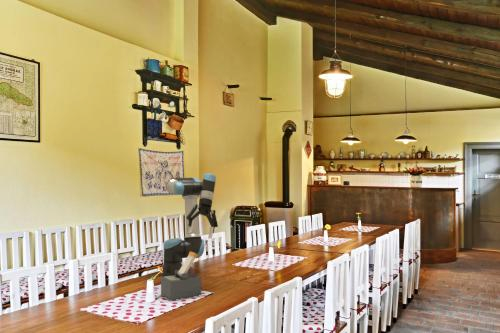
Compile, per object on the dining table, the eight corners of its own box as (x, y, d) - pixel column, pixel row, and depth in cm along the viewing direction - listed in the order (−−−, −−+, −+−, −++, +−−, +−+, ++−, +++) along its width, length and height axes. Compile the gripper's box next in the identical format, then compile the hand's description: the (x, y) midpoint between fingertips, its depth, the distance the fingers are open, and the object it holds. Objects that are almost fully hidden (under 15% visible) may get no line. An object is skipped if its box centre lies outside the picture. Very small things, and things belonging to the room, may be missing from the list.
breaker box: (160, 295, 246) (161, 271, 246) (190, 290, 256) (190, 267, 256) (170, 300, 235) (170, 276, 235) (201, 295, 245) (201, 272, 245)
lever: (176, 274, 248) (189, 251, 253) (178, 275, 249) (192, 252, 254) (181, 276, 242) (195, 253, 247) (184, 278, 243) (198, 254, 248)
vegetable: (183, 293, 262) (177, 269, 259) (181, 286, 272) (176, 263, 269) (201, 287, 264) (195, 264, 262) (198, 281, 274) (193, 258, 271)
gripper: (191, 192, 250) (184, 229, 242) (227, 204, 264) (221, 239, 256) (184, 194, 255) (177, 230, 248) (219, 206, 269) (214, 240, 262)
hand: (200, 235), depth 252 cm, fingers open, 13 cm apart
